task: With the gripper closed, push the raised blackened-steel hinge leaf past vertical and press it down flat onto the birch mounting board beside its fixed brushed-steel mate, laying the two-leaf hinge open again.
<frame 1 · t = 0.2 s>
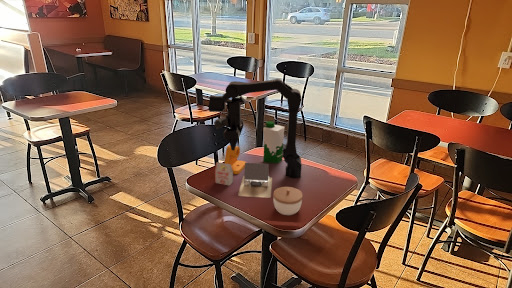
hand: (234, 146, 144), 14 cm above the table, fingers open, 9 cm apart
bracket: (235, 170, 153), on the table
milk carton: (272, 161, 163), on the table
fixed leaf: (256, 186, 137), resting on mounting board
loose leaf: (256, 174, 137), point 6 cm above the table, hinge at 112.0°
white printed packet: (224, 184, 141), on the table
lidded jar: (286, 212, 122), on the table
mounting board: (256, 188, 138), on the table
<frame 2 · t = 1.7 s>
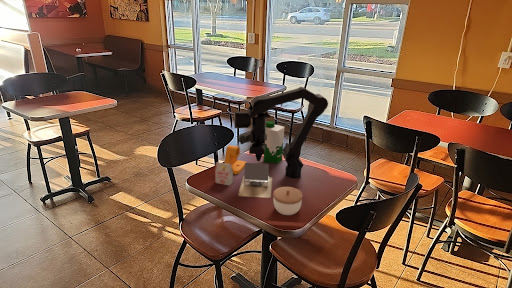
hand: (258, 161, 142), 9 cm above the table, fingers closed
nothing on the table moved.
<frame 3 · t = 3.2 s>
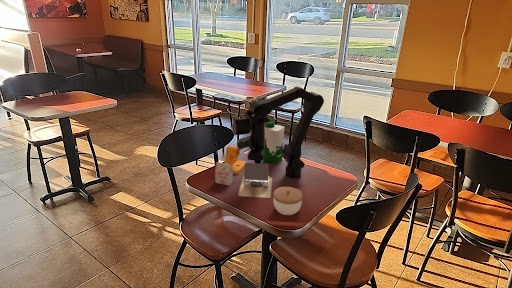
hand: (257, 166, 139), 8 cm above the table, fingers closed
loose leaf: (256, 174, 137), point 6 cm above the table, hinge at 111.7°, touching gripper
everything else where it was.
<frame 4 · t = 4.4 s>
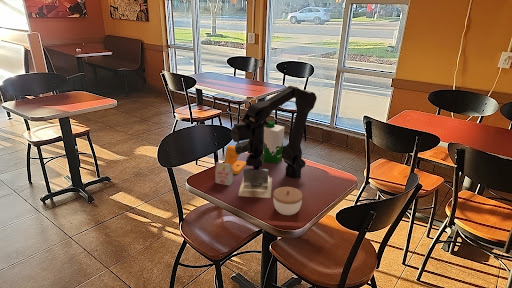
hand: (255, 172, 133), 8 cm above the table, fingers closed
loose leaf: (256, 177, 135), point 6 cm above the table, hinge at 75.1°, touching gripper
everything else where it was.
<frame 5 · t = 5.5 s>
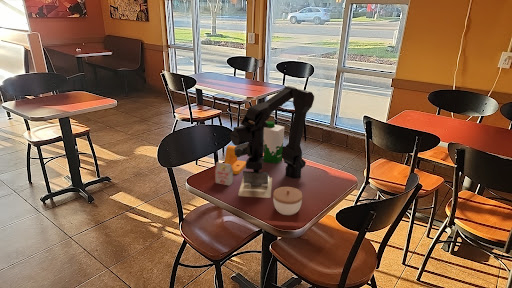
hand: (255, 174, 132), 8 cm above the table, fingers closed
loose leaf: (255, 178, 134), point 6 cm above the table, hinge at 64.3°, touching gripper
everything else where it was.
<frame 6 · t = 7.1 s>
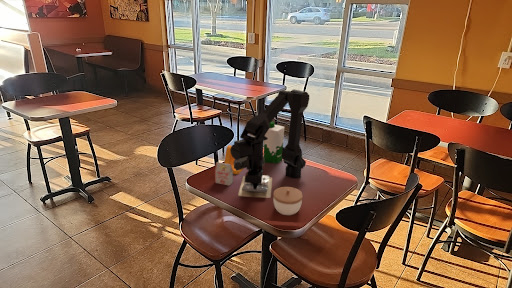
hand: (255, 187, 131), 4 cm above the table, fingers closed, pressing on loose leaf
loose leaf: (255, 185, 133), point 3 cm above the table, hinge at 15.8°, touching gripper
everything else where it was.
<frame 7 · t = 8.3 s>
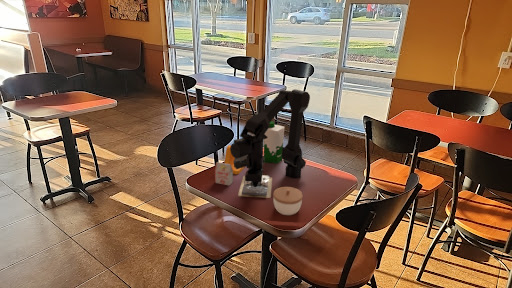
hand: (255, 186, 131), 4 cm above the table, fingers closed
loose leaf: (255, 187, 133), point 3 cm above the table, hinge at 5.8°
everything else where it was.
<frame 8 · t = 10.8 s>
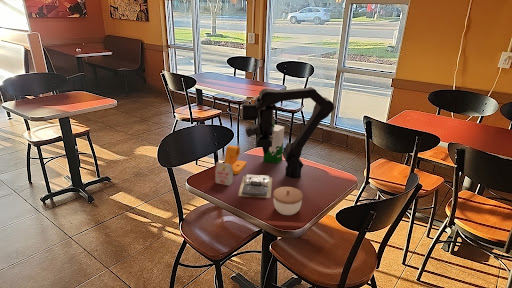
hand: (265, 154, 141), 12 cm above the table, fingers closed
nothing on the table moved.
at the end: loose leaf at +6° (first picture: +112°); loose leaf tilted 6° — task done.
